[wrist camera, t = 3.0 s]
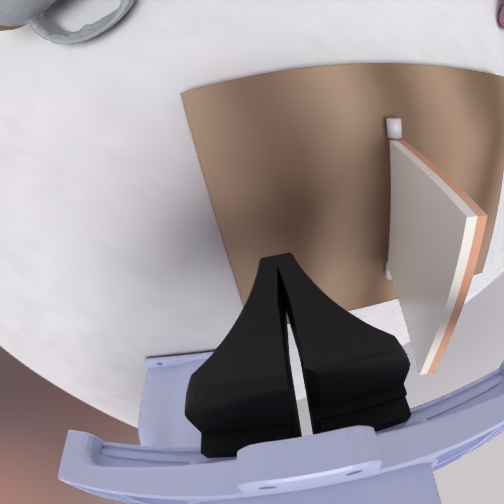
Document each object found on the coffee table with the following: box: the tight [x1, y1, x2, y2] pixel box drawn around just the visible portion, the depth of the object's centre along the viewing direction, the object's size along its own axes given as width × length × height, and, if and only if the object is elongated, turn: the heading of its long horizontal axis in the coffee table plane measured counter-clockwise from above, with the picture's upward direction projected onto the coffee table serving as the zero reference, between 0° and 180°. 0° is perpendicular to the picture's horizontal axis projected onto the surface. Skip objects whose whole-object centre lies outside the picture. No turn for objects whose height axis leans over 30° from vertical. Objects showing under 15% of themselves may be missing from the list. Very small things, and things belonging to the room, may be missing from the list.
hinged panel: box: [385, 117, 488, 375], centre depth 12 cm, size 9×10×1 cm
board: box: [180, 64, 504, 324], centre depth 16 cm, size 20×16×1 cm
